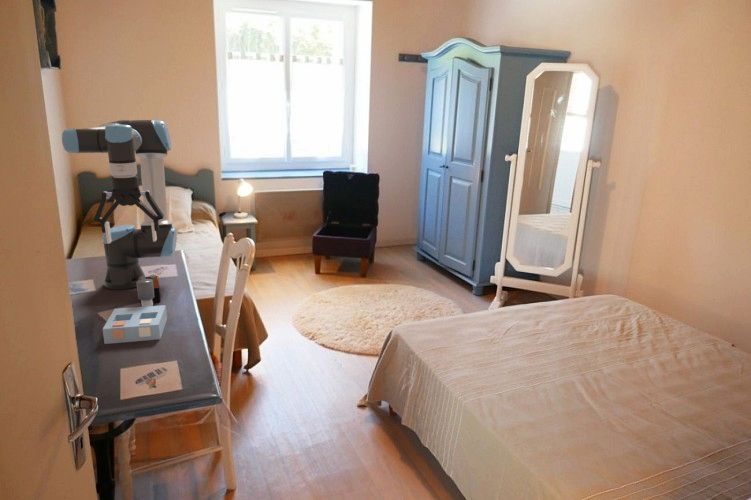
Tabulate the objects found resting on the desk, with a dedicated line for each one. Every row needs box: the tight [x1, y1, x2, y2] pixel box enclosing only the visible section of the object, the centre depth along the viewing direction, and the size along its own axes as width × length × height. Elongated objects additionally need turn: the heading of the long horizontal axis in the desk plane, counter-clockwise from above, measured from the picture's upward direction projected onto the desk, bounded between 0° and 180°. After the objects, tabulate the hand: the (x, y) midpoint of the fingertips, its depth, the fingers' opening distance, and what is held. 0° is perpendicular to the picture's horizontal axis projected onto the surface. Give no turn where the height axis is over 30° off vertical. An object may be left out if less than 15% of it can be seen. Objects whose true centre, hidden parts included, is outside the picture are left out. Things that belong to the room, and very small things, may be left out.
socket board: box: [102, 304, 168, 345], centre depth 167 cm, size 16×16×5 cm
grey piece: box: [136, 279, 155, 307], centre depth 180 cm, size 5×5×12 cm
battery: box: [138, 274, 162, 304], centre depth 191 cm, size 4×7×10 cm, turn 111°
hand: (132, 241), depth 167 cm, fingers open, 13 cm apart
